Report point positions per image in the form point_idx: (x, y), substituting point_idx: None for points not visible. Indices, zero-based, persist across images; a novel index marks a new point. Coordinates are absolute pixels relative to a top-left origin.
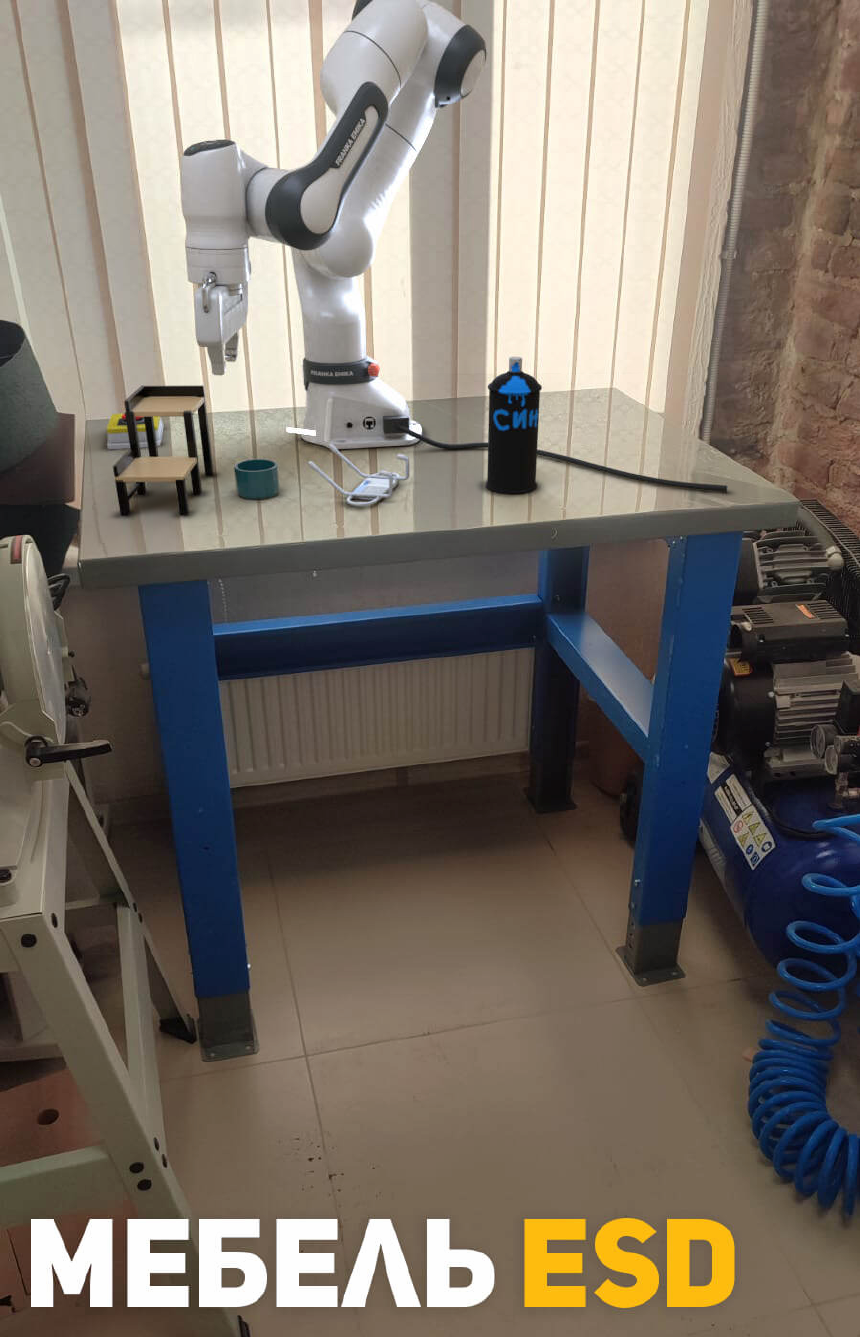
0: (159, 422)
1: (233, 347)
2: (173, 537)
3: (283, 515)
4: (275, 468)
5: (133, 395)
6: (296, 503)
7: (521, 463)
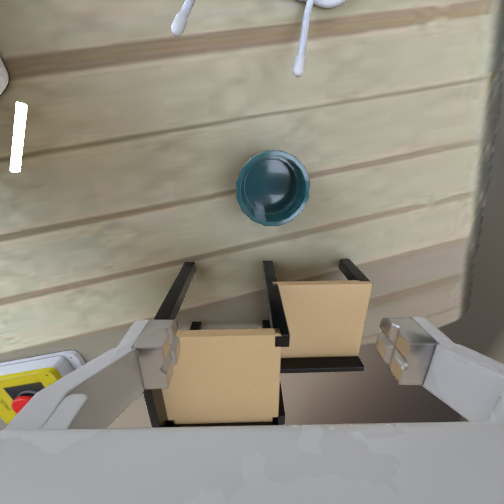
0: (8, 373)
1: (133, 366)
2: (420, 258)
3: (368, 128)
4: (284, 152)
5: None
6: (316, 114)
7: None
